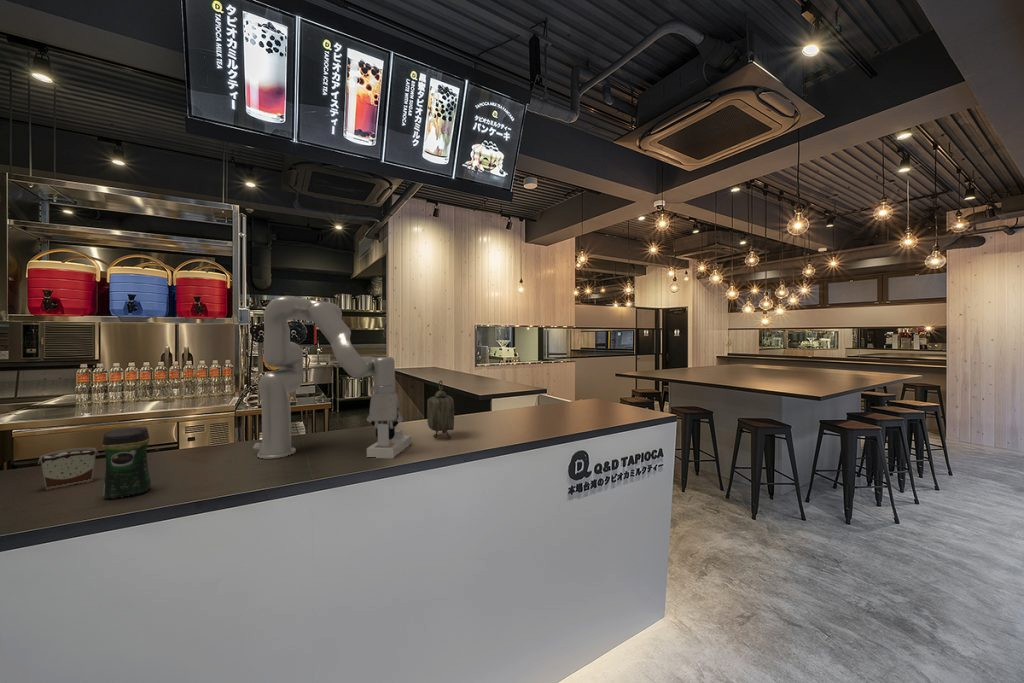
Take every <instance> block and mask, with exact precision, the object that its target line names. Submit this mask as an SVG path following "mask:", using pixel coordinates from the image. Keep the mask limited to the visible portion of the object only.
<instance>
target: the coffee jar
mask: <svg viewBox="0 0 1024 683" xmlns="http://www.w3.org/2000/svg"><path fill="white" fill-rule="evenodd" d="M148 430H149V429H148V428H147V427H146V426H142V427H141V426H140V427H139V426H137V427H125V428H117V429H111V430H108V431H106V432H105V433H104V435H103V438H102V439H103V440H102V447H101V448H102V450H103V451H104V454H105V472H104V481H103V482H104V483H103V490H102V491H103V498H105V499H108V498H111V499H114V498H113V497H121V496H128V495H133V496H136V495H135V494H137V495H140V493H141V494H142V493H145V491H146V492H147V491H148V489H150V488H151V486H152V485H151V476H150V475H151V474H150V471H149V462H148V457H147V456H148V454H147V451H148V450H147V448H148V445H149V442H150V435H149V431H148ZM128 497H129V496H128ZM121 498H122V497H121Z"/></svg>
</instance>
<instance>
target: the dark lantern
mask: <svg viewBox="0 0 1024 683" xmlns="http://www.w3.org/2000/svg"><path fill="white" fill-rule="evenodd" d="M440 385H441V386H440ZM443 387H444V383H443V381H442V380H439V381H438V389H439V390H438V391H436V393H435V394H434V396H431V397H429V398H427V403H426V404H427V405H426V406H427V410H426V413H427V414H426V415H427V426H428V427H429V429H430V430H431V431H434V432H435V433H434V435H433V437H434V438H435V439H436V438H438V437H439V435H438V432H441V433H442V435H445V434H446V436H447V439H448V440H451V438H452V436H451V435H449V432H448V431H453V430H454V429H455V405H454V404H455V402H454V399H453V398H452V396H450V395H448V394H447V393H446V391H444V388H443Z"/></svg>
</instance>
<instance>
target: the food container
mask: <svg viewBox="0 0 1024 683" xmlns="http://www.w3.org/2000/svg"><path fill="white" fill-rule="evenodd" d="M96 455H97V456H99V452H98V450H97V448H96V447H79V448H78V447H77V448H70V449H69V448H68V449H62V450H58V451H57V450H56V451H52V452H49V453H45V454H43V455H41V456H40V457H39V459H38V462H37V465H39V464H40V465H41V472H42V476H43V480H44V487H50V486H56V485H62V484H67V483H73V482H78V481H83V480H88V479H92V480H93V476H94V471H95V470H94V469H95V462H96Z"/></svg>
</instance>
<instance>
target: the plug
mask: <svg viewBox="0 0 1024 683" xmlns="http://www.w3.org/2000/svg"><path fill="white" fill-rule="evenodd" d="M389 429H390V424H389V421H381V422H380V423H379V424H378V439H377V442H378V446H389V445H390V444H391V443H393V438H392V439H391V440H390V439H389Z"/></svg>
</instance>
